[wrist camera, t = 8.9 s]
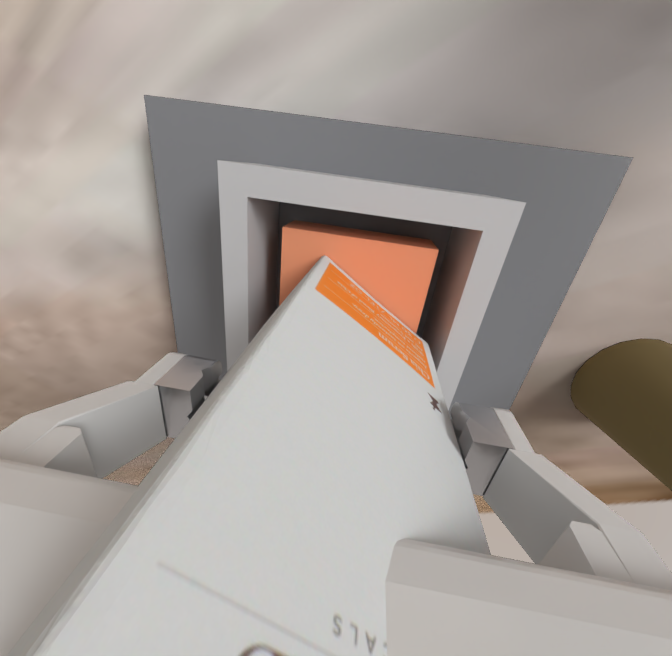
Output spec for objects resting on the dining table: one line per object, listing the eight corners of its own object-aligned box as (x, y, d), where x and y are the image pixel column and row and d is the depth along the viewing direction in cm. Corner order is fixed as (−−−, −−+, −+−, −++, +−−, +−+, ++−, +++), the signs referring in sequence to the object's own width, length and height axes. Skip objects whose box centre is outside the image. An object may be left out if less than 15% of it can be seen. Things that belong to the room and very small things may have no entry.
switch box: (600, 159, 14) (739, 150, 9) (481, 424, 21) (516, 509, 16) (171, 104, 15) (57, 65, 10) (198, 375, 22) (142, 439, 17)
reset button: (430, 239, 13) (439, 250, 12) (392, 387, 17) (394, 412, 15) (294, 220, 14) (282, 226, 12) (286, 369, 17) (275, 391, 16)
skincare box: (431, 341, 13) (652, 1014, 3) (364, 397, 15) (335, 937, 4) (322, 246, 12) (-92, 797, 1) (263, 319, 14) (-122, 810, 3)
